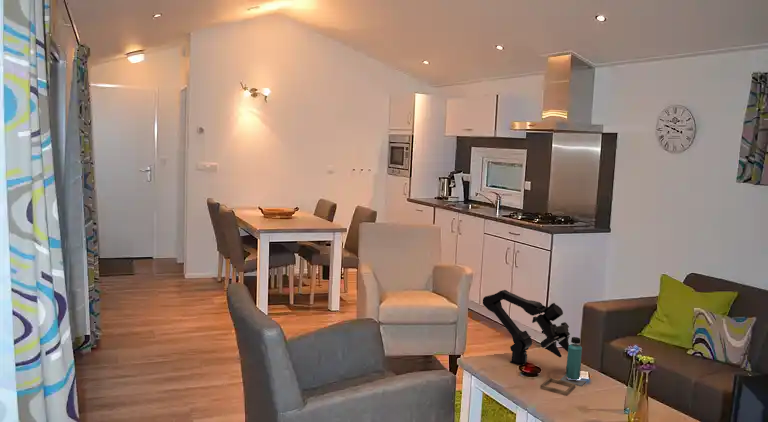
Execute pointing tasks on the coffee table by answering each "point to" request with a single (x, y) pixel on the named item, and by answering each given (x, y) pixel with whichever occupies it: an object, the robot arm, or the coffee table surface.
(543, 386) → the walnut collar
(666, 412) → the coffee table surface
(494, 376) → the coffee table surface
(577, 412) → the coffee table surface
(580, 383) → the grey coaster
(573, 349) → the beverage bottle
